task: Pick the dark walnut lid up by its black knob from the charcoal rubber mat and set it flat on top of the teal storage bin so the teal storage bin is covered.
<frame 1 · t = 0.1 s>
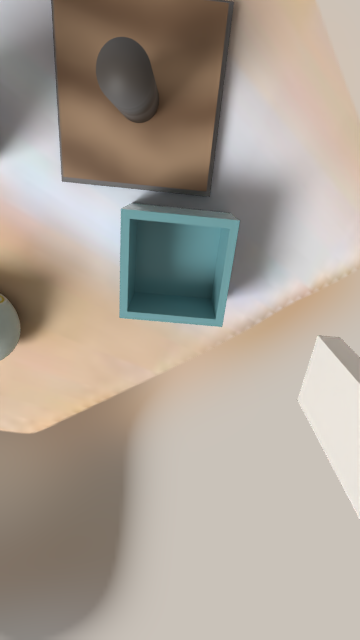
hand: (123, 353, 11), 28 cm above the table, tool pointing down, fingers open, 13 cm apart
lid: (139, 100, 30), resting on mat
mat: (139, 101, 31), on the table
teal storage bin: (176, 256, 37), on the table
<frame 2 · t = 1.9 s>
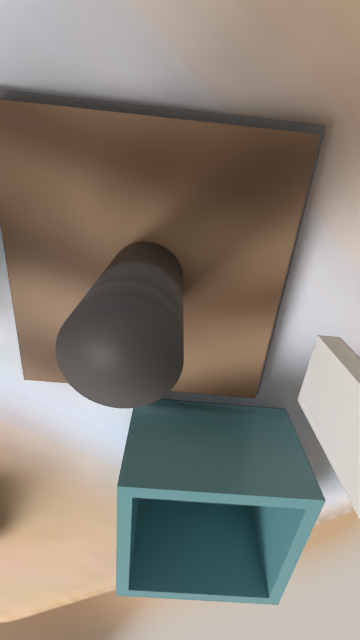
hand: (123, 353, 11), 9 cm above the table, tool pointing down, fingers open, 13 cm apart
lid: (148, 273, 18), resting on mat
mat: (149, 270, 18), on the table
teal storage bin: (201, 456, 25), on the table
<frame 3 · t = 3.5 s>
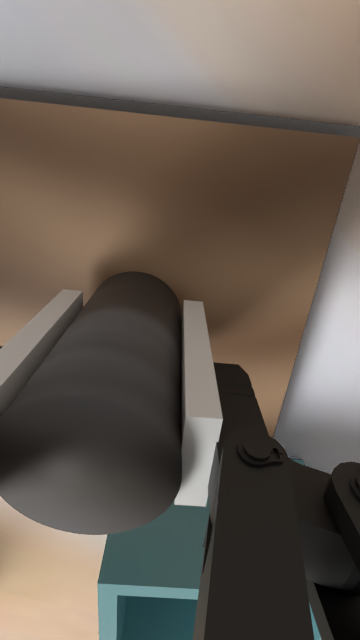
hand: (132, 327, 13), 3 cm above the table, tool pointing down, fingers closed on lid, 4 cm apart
lid: (138, 307, 15), resting on mat, touching gripper
mat: (140, 303, 15), on the table
teal storage bin: (203, 511, 21), on the table
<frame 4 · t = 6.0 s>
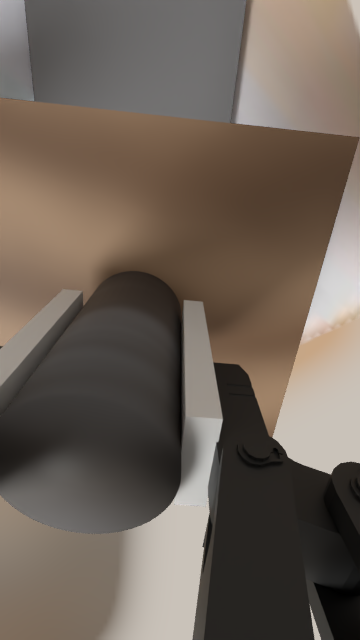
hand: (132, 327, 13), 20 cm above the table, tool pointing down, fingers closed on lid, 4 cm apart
lid: (138, 306, 15), point 17 cm above the table, touching gripper
mat: (134, 119, 26), on the table
when the fingers open (11 cm above the table, at t = 8.5 s): lid drops 1 cm, resting on teal storage bin.
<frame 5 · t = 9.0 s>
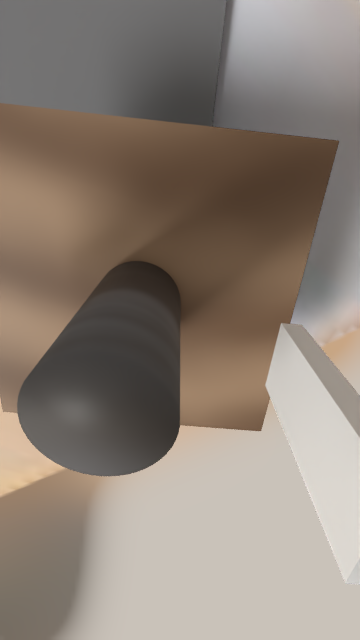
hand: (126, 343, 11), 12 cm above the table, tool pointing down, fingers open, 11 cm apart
lid: (141, 294, 16), point 7 cm above the table, touching teal storage bin
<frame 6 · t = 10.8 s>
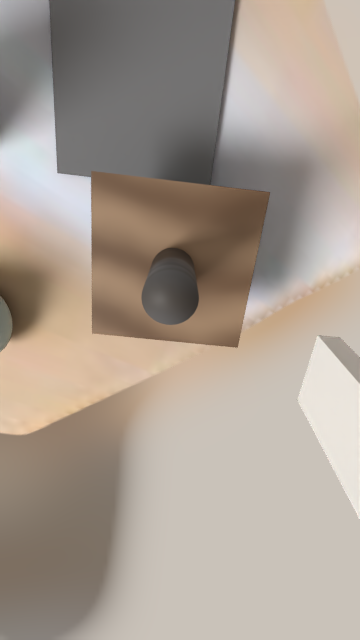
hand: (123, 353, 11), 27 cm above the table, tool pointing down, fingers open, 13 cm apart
lid: (173, 266, 30), point 7 cm above the table, touching teal storage bin
mat: (138, 91, 30), on the table
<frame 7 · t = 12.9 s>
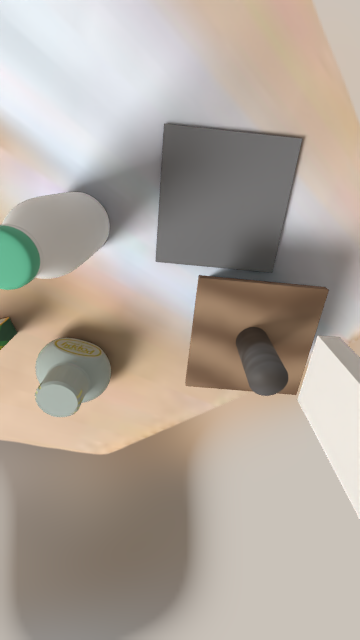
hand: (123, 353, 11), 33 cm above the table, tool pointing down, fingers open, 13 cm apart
milk bottle: (81, 223, 41), on the table
air freshener: (80, 359, 49), on the table
lid: (250, 337, 39), point 7 cm above the table, touching teal storage bin
mat: (222, 204, 39), on the table
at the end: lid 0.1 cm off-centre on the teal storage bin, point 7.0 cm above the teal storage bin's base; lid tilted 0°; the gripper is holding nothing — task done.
